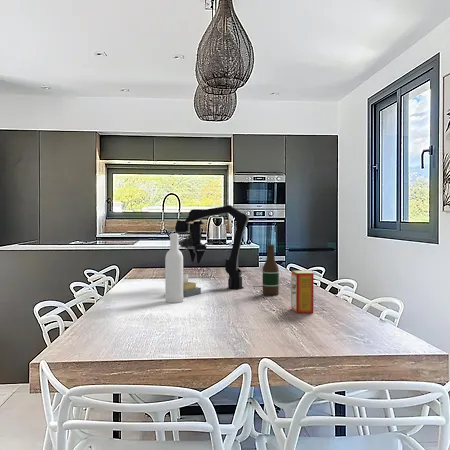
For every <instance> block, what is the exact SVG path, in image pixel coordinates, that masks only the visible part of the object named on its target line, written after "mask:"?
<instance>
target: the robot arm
mask: <svg viewBox="0 0 450 450" xmlns="http://www.w3.org/2000/svg"><path fill="white" fill-rule="evenodd" d="M223 214H229V215H230V216H231V217H233V218H234V219H235V234H234V239H233V243H232V246H231V252H230V256H229V257H228V258H226V259H225V264H224V266H223V267H225V268H224V269H225V272H226V273H227V274H228V279H227V280H228V282H227V286H228V287H227V288H226V289H229V290H241V289H244V288H245V287H244V286H243V276H242V274H243V271H242V270H241V269H240V268H239V254H240V249H241V245H242V239H243V235H244V231H245V229H246V227H247V225H248V222H249V219H250V217H249V215H248V214H247V213H245V212H241V211H239V210H238V209H237V208H235V207H234V206H233V205H231V204H228V205H225V206H218V207H214V208H213V207H211V208H207V209H204V208H203V209H195V208H193V209H190V211H189V213H188V216H187V218H186V219H185V220H182V219H177V220H176V223H175V226H174V229H175V233H177V234H188V232H189V234H188V236H187V238H186V237H185V238H183V239H181V240H178V245H179V246H180V248H185V250H186V251H187V252H188V254H189V258H190V261H191V262H192V263H193V262H194V261H195V259H196V263H197V264H200V263H201V261H202V258H203V256H204V254H205V252H206V250H207V245H206V244H203V243H202V241H201V238H202V237H203V235H202V234H201V233H202V232H201V231H202V228H201V227H202V225H203V226H204V225H205V222H203V220H202V219H204V218H207V217H211V216H217V215H223ZM198 220H199V221H198Z"/></svg>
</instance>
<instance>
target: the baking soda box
mask: <svg viewBox="0 0 450 450" xmlns="http://www.w3.org/2000/svg"><path fill="white" fill-rule="evenodd" d="M290 286H291V288H290V289H291V292H290V293H291V294H290V295H291V302H290V303H291V306H290V307H291V310H292V311H293V312H294V313H295V314H314V272H312V271H310V270H308V269H307V270H291V285H290Z"/></svg>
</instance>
